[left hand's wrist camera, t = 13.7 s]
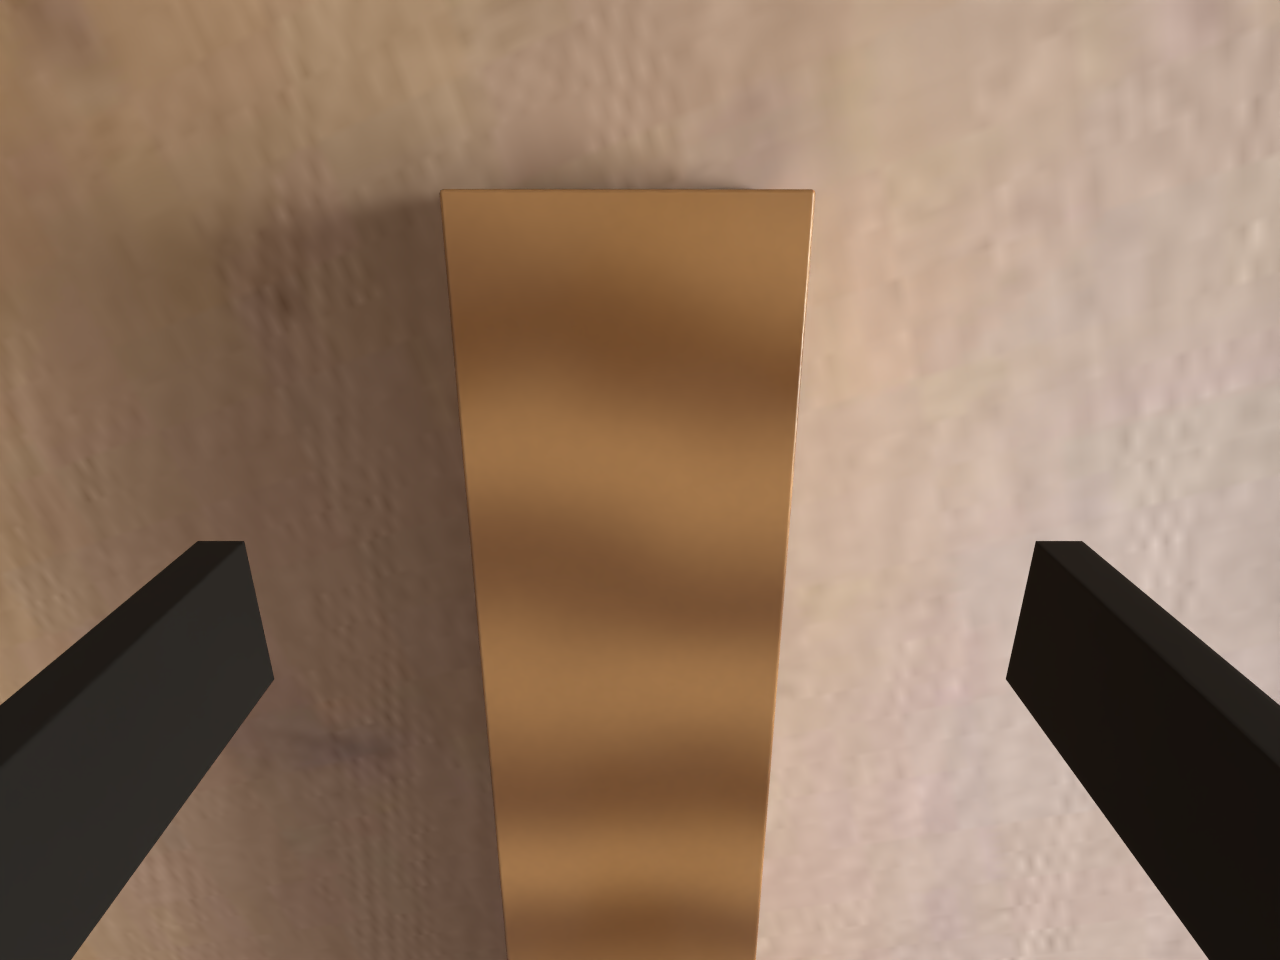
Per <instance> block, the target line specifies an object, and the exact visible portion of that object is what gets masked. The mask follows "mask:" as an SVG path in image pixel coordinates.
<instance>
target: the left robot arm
mask: <svg viewBox="0 0 1280 960" xmlns="http://www.w3.org/2000/svg"><path fill="white" fill-rule="evenodd" d="M273 680H274V676H273V672H272V667H271V662H270V658H269V653H268V649H267V644H266V639H265V635H264V630H263V626H262V621H261V616H260V612H259V607H258V603H257V598H256V594H255V589H254V584H253V580H252V575H251V571H250V566H249V561H248V557H247V552H246V548H245V543H244V541H198V542H196V543H195V544H194V545H193V546H191V547H190V548H189V549H188V550H187V551H185V552H184V553H183V554H182V555H181V556H179V557H178V558H177V559H176V560H175V561H173V562H172V563H171V564H170V565H169V566H167V567H166V568H165V569H164V570H163V571H161V572H160V573H159V574H158V575H157V576H155V577H154V578H153V579H152V580H151V581H149V582H148V583H147V584H146V585H145V586H143V587H142V588H141V589H140V590H139V591H137V592H136V593H135V594H134V595H133V596H131V597H130V598H129V599H128V600H127V601H125V602H124V603H123V604H122V605H121V606H119V607H118V608H117V609H116V610H114V611H113V612H112V613H111V614H110V615H108V616H107V617H106V618H105V619H104V620H102V621H101V622H100V623H99V624H98V625H96V626H95V627H94V628H93V629H92V630H90V631H89V632H88V633H87V634H86V635H84V636H83V637H82V638H81V639H80V640H78V641H77V642H76V643H75V644H74V645H72V646H71V647H70V648H69V649H68V650H66V651H65V652H64V653H63V654H62V655H60V656H59V657H58V658H57V659H56V660H54V661H53V662H52V663H51V664H50V665H48V666H47V667H46V668H45V669H43V670H42V671H41V672H40V673H39V674H37V675H36V676H35V677H34V678H33V679H31V680H30V681H29V682H28V683H27V684H25V685H24V686H23V687H22V688H21V689H19V690H18V691H17V692H16V693H15V694H13V695H12V696H11V697H10V698H9V699H7V700H6V701H5V702H4V703H3V704H1V705H0V960H71V959H72V958H73V956H74V955H75V953H76V952H77V951H78V949H79V948H80V947H81V945H82V944H83V942H84V941H85V940H86V938H87V937H88V935H89V934H90V933H91V931H92V930H93V929H94V927H95V926H96V924H97V923H98V922H99V920H100V919H101V918H102V916H103V915H104V913H105V912H106V911H107V909H108V908H109V906H110V905H111V904H112V902H113V901H114V900H115V898H116V897H117V895H118V894H119V893H120V891H121V890H122V889H123V887H124V886H125V884H126V883H127V882H128V880H129V879H130V877H131V876H132V875H133V873H134V872H135V871H136V869H137V868H138V866H139V865H140V864H141V862H142V861H143V860H144V858H145V857H146V855H147V854H148V853H149V851H150V850H151V848H152V847H153V846H154V844H155V843H156V842H157V840H158V839H159V837H160V836H161V835H162V833H163V832H164V831H165V829H166V828H167V826H168V825H169V824H170V822H171V821H172V819H173V818H174V817H175V815H176V814H177V813H178V811H179V810H180V808H181V807H182V806H183V804H184V803H185V801H186V800H187V799H188V797H189V796H190V795H191V793H192V792H193V790H194V789H195V788H196V786H197V785H198V784H199V782H200V781H201V779H202V778H203V777H204V775H205V774H206V772H207V771H208V770H209V768H210V767H211V766H212V764H213V763H214V761H215V760H216V759H217V757H218V756H219V755H220V753H221V752H222V750H223V749H224V748H225V746H226V745H227V743H228V742H229V741H230V739H231V738H232V737H233V735H234V734H235V732H236V731H237V730H238V728H239V727H240V726H241V724H242V723H243V721H244V720H245V719H246V717H247V716H248V714H249V713H250V712H251V710H252V709H253V708H254V706H255V705H256V703H257V702H258V701H259V699H260V698H261V697H262V695H263V694H264V692H265V691H266V690H267V688H268V687H269V685H270V684H271V683H272V681H273ZM1006 680H1007V681H1008V683H1009V684H1010V685H1011V687H1012V688H1013V690H1014V691H1015V692H1016V694H1017V695H1018V697H1019V698H1020V699H1021V701H1022V702H1023V703H1024V705H1025V706H1026V708H1027V709H1028V710H1029V712H1030V713H1031V714H1032V716H1033V717H1034V719H1035V720H1036V721H1037V723H1038V724H1039V726H1040V727H1041V728H1042V730H1043V731H1044V732H1045V734H1046V735H1047V737H1048V738H1049V739H1050V741H1051V742H1052V743H1053V745H1054V746H1055V748H1056V749H1057V750H1058V752H1059V753H1060V755H1061V756H1062V757H1063V759H1064V760H1065V761H1066V763H1067V764H1068V766H1069V767H1070V768H1071V770H1072V771H1073V772H1074V774H1075V775H1076V777H1077V778H1078V779H1079V781H1080V782H1081V784H1082V785H1083V786H1084V788H1085V789H1086V790H1087V792H1088V793H1089V795H1090V796H1091V797H1092V799H1093V800H1094V801H1095V803H1096V804H1097V806H1098V807H1099V808H1100V810H1101V811H1102V813H1103V814H1104V815H1105V817H1106V818H1107V819H1108V821H1109V822H1110V824H1111V825H1112V826H1113V828H1114V829H1115V831H1116V832H1117V833H1118V835H1119V836H1120V837H1121V839H1122V840H1123V842H1124V843H1125V844H1126V846H1127V847H1128V848H1129V850H1130V851H1131V853H1132V854H1133V855H1134V857H1135V858H1136V860H1137V861H1138V862H1139V864H1140V865H1141V866H1142V868H1143V869H1144V871H1145V872H1146V873H1147V875H1148V876H1149V877H1150V879H1151V880H1152V882H1153V883H1154V884H1155V886H1156V887H1157V889H1158V890H1159V891H1160V893H1161V894H1162V895H1163V897H1164V898H1165V900H1166V901H1167V902H1168V904H1169V905H1170V906H1171V908H1172V909H1173V911H1174V912H1175V913H1176V915H1177V916H1178V918H1179V919H1180V920H1181V922H1182V923H1183V924H1184V926H1185V927H1186V929H1187V930H1188V931H1189V933H1190V934H1191V935H1192V937H1193V938H1194V940H1195V941H1196V942H1197V944H1198V945H1199V947H1200V948H1201V949H1202V951H1203V952H1204V953H1205V955H1206V956H1207V958H1208V959H1209V960H1280V705H1279V704H1277V703H1276V702H1275V701H1274V700H1273V699H1271V698H1270V697H1269V696H1268V695H1267V694H1265V693H1264V692H1263V691H1262V690H1261V689H1259V688H1258V687H1257V686H1256V685H1255V684H1253V683H1252V682H1251V681H1250V680H1249V679H1247V678H1246V677H1245V676H1244V675H1243V674H1241V673H1240V672H1239V671H1238V670H1237V669H1235V668H1234V667H1233V666H1232V665H1230V664H1229V663H1228V662H1227V661H1226V660H1224V659H1223V658H1222V657H1221V656H1220V655H1218V654H1217V653H1216V652H1215V651H1214V650H1212V649H1211V648H1210V647H1209V646H1208V645H1206V644H1205V643H1204V642H1203V641H1202V640H1200V639H1199V638H1198V637H1197V636H1196V635H1194V634H1193V633H1192V632H1191V631H1190V630H1188V629H1187V628H1186V627H1185V626H1184V625H1182V624H1181V623H1180V622H1179V621H1178V620H1176V619H1175V618H1174V617H1173V616H1172V615H1170V614H1169V613H1168V612H1167V611H1166V610H1164V609H1163V608H1162V607H1161V606H1160V605H1158V604H1157V603H1156V602H1155V601H1153V600H1152V599H1151V598H1150V597H1149V596H1147V595H1146V594H1145V593H1144V592H1143V591H1141V590H1140V589H1139V588H1138V587H1137V586H1135V585H1134V584H1133V583H1132V582H1131V581H1129V580H1128V579H1127V578H1126V577H1125V576H1123V575H1122V574H1121V573H1120V572H1119V571H1117V570H1116V569H1115V568H1114V567H1113V566H1111V565H1110V564H1109V563H1108V562H1107V561H1105V560H1104V559H1103V558H1102V557H1101V556H1099V555H1098V554H1097V553H1096V552H1095V551H1093V550H1092V549H1091V548H1090V547H1089V546H1087V545H1086V544H1085V543H1084V542H1082V541H1036V543H1035V548H1034V552H1033V557H1032V561H1031V566H1030V571H1029V575H1028V580H1027V584H1026V589H1025V594H1024V598H1023V603H1022V607H1021V612H1020V616H1019V621H1018V626H1017V630H1016V635H1015V639H1014V644H1013V649H1012V653H1011V658H1010V662H1009V667H1008V672H1007V676H1006Z"/></svg>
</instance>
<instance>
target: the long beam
mask: <svg viewBox="0 0 1280 960" xmlns="http://www.w3.org/2000/svg"><path fill="white" fill-rule="evenodd" d="M814 203H815V191H814V190H812V189H443V190H441V191H440V204H441V215H442V226H443V238H444V249H445V260H446V272H447V283H448V294H449V306H450V317H451V328H452V340H453V351H454V362H455V374H456V385H457V396H458V408H459V419H460V430H461V442H462V453H463V464H464V476H465V487H466V498H467V509H468V521H469V532H470V543H471V555H472V566H473V577H474V589H475V600H476V611H477V623H478V634H479V645H480V657H481V668H482V679H483V691H484V702H485V713H486V725H487V736H488V747H489V759H490V770H491V781H492V793H493V804H494V815H495V826H496V838H497V849H498V860H499V872H500V883H501V894H502V906H503V917H504V928H505V940H506V951H507V960H756V948H757V935H758V922H759V909H760V897H761V884H762V871H763V858H764V845H765V832H766V819H767V807H768V794H769V781H770V768H771V755H772V742H773V730H774V717H775V704H776V691H777V678H778V665H779V652H780V640H781V627H782V614H783V601H784V588H785V575H786V562H787V550H788V537H789V524H790V511H791V498H792V485H793V472H794V460H795V447H796V434H797V421H798V408H799V395H800V382H801V370H802V357H803V344H804V331H805V318H806V305H807V293H808V280H809V267H810V254H811V241H812V228H813V215H814Z"/></svg>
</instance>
